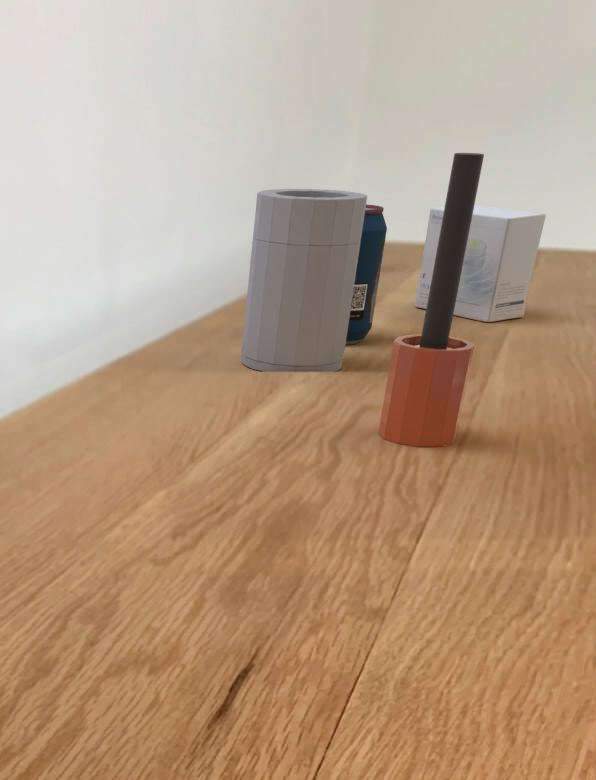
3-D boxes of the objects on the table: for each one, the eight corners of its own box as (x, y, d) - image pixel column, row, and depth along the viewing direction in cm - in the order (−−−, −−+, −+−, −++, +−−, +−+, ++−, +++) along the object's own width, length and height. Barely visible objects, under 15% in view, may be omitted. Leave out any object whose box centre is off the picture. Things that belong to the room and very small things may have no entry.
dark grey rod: (430, 429, 81) (484, 152, 72) (446, 442, 78) (504, 155, 69) (387, 429, 81) (435, 151, 72) (402, 442, 78) (453, 155, 69)
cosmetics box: (410, 307, 126) (428, 205, 120) (449, 302, 129) (467, 203, 123) (486, 323, 118) (509, 215, 113) (525, 317, 121) (549, 212, 116)
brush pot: (437, 432, 82) (457, 334, 79) (464, 453, 78) (485, 350, 74) (369, 433, 82) (385, 334, 78) (391, 453, 77) (409, 350, 74)
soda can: (287, 332, 113) (303, 202, 107) (349, 330, 114) (368, 202, 108) (316, 347, 107) (335, 210, 101) (382, 344, 109) (404, 209, 102)
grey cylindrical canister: (326, 353, 105) (349, 189, 98) (353, 375, 97) (380, 199, 90) (232, 353, 105) (248, 188, 97) (252, 375, 97) (271, 198, 90)
